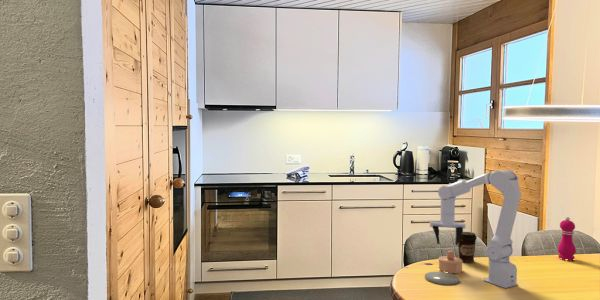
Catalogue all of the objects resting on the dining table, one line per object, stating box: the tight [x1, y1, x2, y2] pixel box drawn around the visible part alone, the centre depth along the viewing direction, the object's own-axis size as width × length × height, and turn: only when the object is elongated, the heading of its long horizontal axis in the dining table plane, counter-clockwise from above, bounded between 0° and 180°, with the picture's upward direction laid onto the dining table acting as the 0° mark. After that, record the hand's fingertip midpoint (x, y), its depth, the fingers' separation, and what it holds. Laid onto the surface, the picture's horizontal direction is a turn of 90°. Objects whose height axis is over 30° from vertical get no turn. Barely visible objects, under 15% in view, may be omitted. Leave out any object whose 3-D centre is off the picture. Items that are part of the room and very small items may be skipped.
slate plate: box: [424, 271, 460, 286], centre depth 159 cm, size 13×13×1 cm
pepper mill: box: [557, 216, 577, 260], centre depth 187 cm, size 7×7×20 cm
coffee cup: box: [457, 231, 478, 263], centre depth 183 cm, size 9×8×13 cm
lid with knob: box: [438, 250, 464, 275], centre depth 170 cm, size 10×10×8 cm
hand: (447, 243), depth 175 cm, fingers open, 7 cm apart
